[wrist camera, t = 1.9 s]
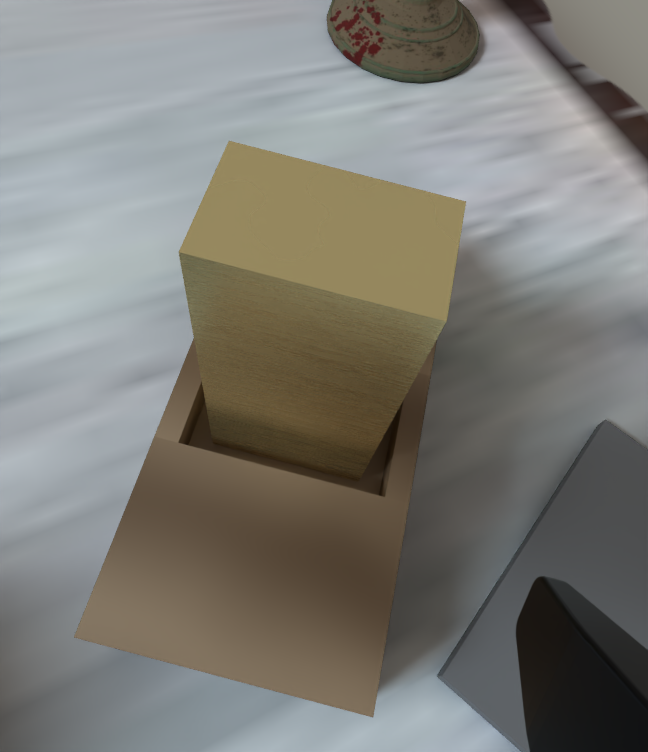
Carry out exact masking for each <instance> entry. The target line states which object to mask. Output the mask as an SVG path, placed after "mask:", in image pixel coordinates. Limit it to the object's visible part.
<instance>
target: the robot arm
mask: <svg viewBox="0 0 648 752" xmlns="http://www.w3.org/2000/svg"><path fill="white" fill-rule="evenodd" d="M516 643H517V653H518V662H519V672H520V682H521V692H522V701H523V711H524V720H525V728H526V735H527V740H528V745H529V751H530V752H648V650H647V649H646V648H645V647H644V646H643V645H641V644H640V643H639V642H638V641H637V640H635V639H634V638H633V637H632V636H631V635H629V634H628V633H627V632H626V631H625V630H624V629H622V628H621V627H620V626H619V625H618V624H616V623H615V622H614V621H613V620H612V619H610V618H609V617H608V616H607V615H606V614H604V613H603V612H602V611H601V610H600V609H598V608H597V607H596V606H595V605H594V604H592V603H591V602H590V601H589V600H588V599H586V598H585V597H584V596H583V595H582V594H580V593H579V592H578V591H577V590H576V589H574V588H573V587H572V586H571V585H570V584H568V583H567V582H565V581H562V580H558V579H554V578H550V577H547V576H539V577H537V578H536V579H535V581H534V582H533V584H532V586H531V589H530V591H529V593H528V596H527V598H526V600H525V603H524V605H523V607H522V610H521V612H520V614H519V617H518V620H517V624H516Z"/></svg>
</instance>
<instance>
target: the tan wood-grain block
mask: <svg viewBox="0 0 648 752" xmlns="http://www.w3.org/2000/svg"><path fill="white" fill-rule="evenodd" d="M465 205H466V201H462V200H458V199H454V198H450V197H446V196H442V195H438V194H434V193H431V192H427V191H423V190H419V189H415V188H411V187H407V186H403V185H399V184H395V183H392V182H388V181H384V180H380V179H376V178H372V177H368V176H364V175H360V174H356V173H353V172H349V171H345V170H341V169H337V168H333V167H329V166H325V165H321V164H317V163H314V162H310V161H306V160H302V159H298V158H294V157H290V156H286V155H282V154H279V153H275V152H271V151H267V150H263V149H259V148H255V147H251V146H247V145H243V144H240V143H236V142H232V141H229V142H228V144H227V146H226V149H225V151H224V153H223V155H222V158H221V160H220V162H219V164H218V166H217V169H216V171H215V173H214V175H213V177H212V180H211V182H210V184H209V186H208V188H207V191H206V193H205V195H204V197H203V200H202V202H201V204H200V206H199V208H198V211H197V213H196V215H195V217H194V219H193V222H192V224H191V226H190V228H189V230H188V233H187V235H186V237H185V239H184V241H183V244H182V246H181V248H180V250H179V257H180V262H181V268H182V273H183V279H184V285H185V290H186V296H187V301H188V307H189V313H190V318H191V324H192V329H193V335H194V341H195V346H196V352H197V357H198V363H199V369H200V374H201V380H202V386H203V391H204V397H205V402H206V408H207V414H208V419H209V425H210V430H211V436H212V442H213V444H216V445H220V446H224V447H228V448H231V449H235V450H239V451H243V452H247V453H250V454H254V455H258V456H262V457H266V458H270V459H273V460H277V461H281V462H285V463H289V464H292V465H296V466H300V467H304V468H308V469H311V470H315V471H319V472H323V473H327V474H330V475H334V476H338V477H342V478H346V479H349V480H353V481H357V482H359V480H360V478H361V476H362V474H363V473H364V471H365V469H366V467H367V465H368V463H369V462H370V460H371V458H372V456H373V454H374V453H375V451H376V449H377V447H378V445H379V443H380V442H381V440H382V438H383V436H384V434H385V433H386V431H387V429H388V427H389V425H390V423H391V422H392V420H393V418H394V416H395V414H396V413H397V411H398V409H399V407H400V405H401V403H402V402H403V400H404V398H405V396H406V394H407V393H408V391H409V389H410V387H411V385H412V383H413V382H414V380H415V378H416V376H417V374H418V373H419V371H420V369H421V367H422V365H423V364H424V362H425V360H426V358H427V356H428V354H429V353H430V351H431V349H432V347H433V345H434V344H435V342H436V340H437V338H438V336H439V334H440V333H441V331H442V329H443V327H444V325H445V324H446V322H447V316H448V310H449V304H450V298H451V291H452V285H453V279H454V273H455V267H456V261H457V254H458V248H459V242H460V236H461V230H462V224H463V217H464V211H465Z"/></svg>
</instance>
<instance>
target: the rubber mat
mask: <svg viewBox="0 0 648 752" xmlns="http://www.w3.org/2000/svg"><path fill="white" fill-rule="evenodd" d="M539 576H547V577H550V578H554V579H558V580H562V581H565V582H567V583H568V584H570V585H571V586H572V587H573V588H574V589H576V590H577V591H578V592H579V593H580V594H582V595H583V596H584V597H585V598H586V599H588V600H589V601H590V602H591V603H592V604H594V605H595V606H596V607H597V608H598V609H600V610H601V611H602V612H603V613H604V614H606V615H607V616H608V617H609V618H610V619H612V620H613V621H614V622H615V623H616V624H618V625H619V626H620V627H621V628H622V629H624V630H625V631H626V632H627V633H628V634H629V635H631V636H632V637H633V638H634V639H635V640H637V641H638V642H639V643H640V644H641V645H643V646H644V647H645V648H646V649H647V650H648V450H647V449H646V448H645V447H643V446H642V445H640V444H639V443H638V442H636V441H635V440H633V439H632V438H631V437H629V436H628V435H626V434H625V433H624V432H622V431H621V430H619V429H618V428H617V427H615V426H614V425H613V424H611V423H610V422H608V421H607V420H604V421H603V422H602V423H600V424H599V425H598V426H597V427H596V429H595V430H594V432H593V434H592V435H591V437H590V438H589V440H588V441H587V443H586V444H585V446H584V448H583V449H582V451H581V452H580V454H579V455H578V457H577V458H576V460H575V462H574V463H573V465H572V466H571V468H570V469H569V471H568V473H567V474H566V476H565V477H564V479H563V480H562V482H561V483H560V485H559V487H558V488H557V490H556V491H555V493H554V494H553V496H552V497H551V499H550V501H549V502H548V504H547V505H546V507H545V508H544V510H543V511H542V513H541V515H540V516H539V518H538V519H537V521H536V522H535V524H534V526H533V527H532V529H531V530H530V532H529V533H528V535H527V536H526V538H525V540H524V541H523V543H522V544H521V546H520V547H519V549H518V550H517V552H516V554H515V555H514V557H513V558H512V560H511V561H510V563H509V564H508V566H507V568H506V569H505V571H504V572H503V574H502V575H501V577H500V578H499V580H498V582H497V583H496V585H495V586H494V588H493V589H492V591H491V593H490V594H489V596H488V597H487V599H486V600H485V602H484V603H483V605H482V607H481V608H480V610H479V611H478V613H477V614H476V616H475V617H474V619H473V621H472V622H471V624H470V625H469V627H468V628H467V630H466V631H465V633H464V635H463V636H462V638H461V639H460V641H459V642H458V644H457V646H456V647H455V649H454V650H453V652H452V653H451V655H450V656H449V658H448V660H447V661H446V663H445V664H444V666H443V667H442V669H441V670H440V672H439V674H438V675H437V677H438V678H439V679H440V680H441V681H443V682H444V683H445V684H446V685H447V686H448V687H449V688H450V689H452V690H453V691H454V692H455V693H456V694H457V695H458V696H459V697H461V698H462V699H463V700H464V701H465V702H466V703H467V704H469V705H470V706H471V707H472V708H473V709H474V710H475V711H476V712H478V713H479V714H480V715H481V716H482V717H483V718H484V719H485V720H487V721H488V722H489V723H490V724H491V725H492V726H493V727H494V728H496V729H497V730H498V731H499V732H500V733H501V734H502V735H503V736H505V737H506V738H507V739H508V740H509V741H510V742H511V743H512V744H514V745H515V746H516V747H517V748H518V749H519V750H520V751H521V752H530V751H529V745H528V740H527V735H526V728H525V720H524V711H523V701H522V692H521V682H520V672H519V662H518V653H517V643H516V624H517V620H518V617H519V614H520V612H521V610H522V607H523V605H524V603H525V600H526V598H527V596H528V593H529V591H530V589H531V586H532V584H533V582H534V581H535V579H536V578H537V577H539Z"/></svg>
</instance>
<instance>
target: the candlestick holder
mask: <svg viewBox="0 0 648 752" xmlns="http://www.w3.org/2000/svg"><path fill="white" fill-rule="evenodd" d="M327 26H328V32H329V35H330V37H331V39H332V41H333V43H334V45H335V46H336V47H337V48H338V49H339V50H340V51H341V53H342V54H343V55H344V56H345V57H346V58H347V59H349V60H350V61H352V62H353V63H355V64H356V65H358V66H359V67H361V68H362V69H364V70H367V71H369V72H371V73H373V74H376V75H378V76H380V77H384V78H388V79H392V80H397V81H401V82H416V83H423V82H431V81H439V80H443V79H445V78H448V77H451V76H454V75H457V74H458V73H459V72H461V71H462V70H463V69H465V68H466V67H468V66H469V64H470V63H471V61H472V60H473V58H474V57H475V55H476V54H477V50H478V43H479V36H480V34H479V30H478V26H477V22H476V21H475V19H474V18H473V16H472V15H471V13H470V11H469V10H468V9H467V8H466V7H465V6H464V5H463V4H462V3H460V2H459V1H458V0H332V3H331V6H330V8H329V11H328V14H327Z"/></svg>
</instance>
